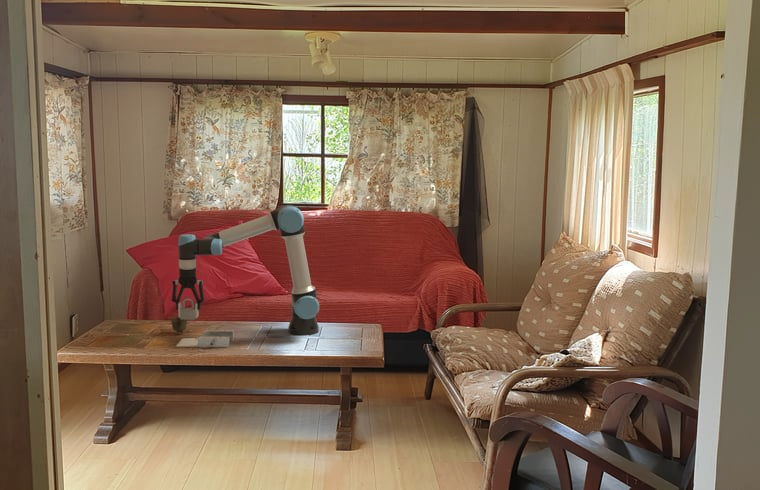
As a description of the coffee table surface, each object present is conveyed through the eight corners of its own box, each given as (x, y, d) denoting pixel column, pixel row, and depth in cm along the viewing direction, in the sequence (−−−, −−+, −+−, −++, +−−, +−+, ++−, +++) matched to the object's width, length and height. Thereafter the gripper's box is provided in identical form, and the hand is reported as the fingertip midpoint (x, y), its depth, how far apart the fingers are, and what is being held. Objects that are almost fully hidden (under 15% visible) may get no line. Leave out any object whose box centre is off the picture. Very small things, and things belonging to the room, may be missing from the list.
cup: (190, 333, 338) (190, 317, 337) (180, 336, 332) (180, 320, 330) (178, 331, 341) (178, 315, 340) (168, 334, 335) (168, 318, 334)
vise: (234, 339, 329) (233, 330, 328) (227, 349, 312) (227, 339, 311) (204, 339, 328) (204, 329, 327) (196, 349, 311) (196, 339, 311)
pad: (201, 339, 327) (201, 338, 327) (196, 346, 315) (196, 345, 315) (182, 339, 327) (182, 338, 327) (176, 346, 315) (176, 345, 315)
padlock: (179, 320, 317) (179, 298, 316) (182, 317, 321) (181, 296, 320) (195, 320, 317) (194, 298, 316) (197, 318, 321) (196, 297, 320)
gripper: (211, 266, 320) (212, 315, 323) (167, 266, 319) (168, 314, 322) (207, 269, 313) (208, 318, 316) (163, 269, 312) (164, 318, 315)
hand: (188, 316), depth 319 cm, fingers closed on padlock, 7 cm apart
